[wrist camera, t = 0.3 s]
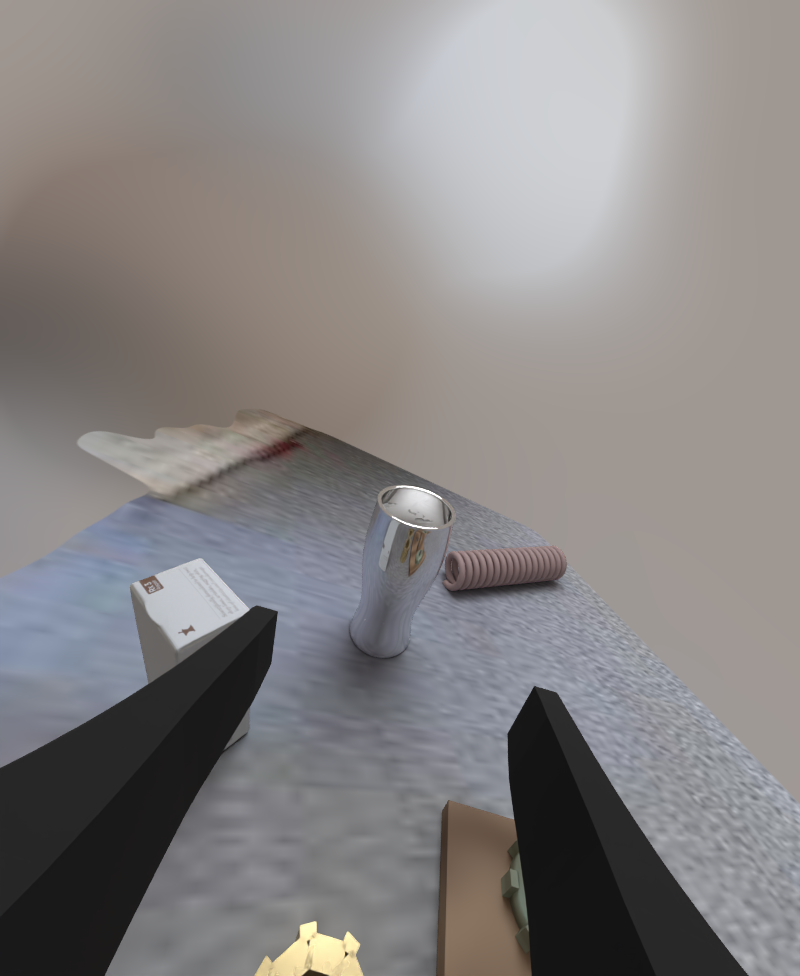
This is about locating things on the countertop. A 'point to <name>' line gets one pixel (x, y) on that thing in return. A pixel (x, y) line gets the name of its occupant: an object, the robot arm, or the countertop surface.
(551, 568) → the coil
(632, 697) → the countertop surface
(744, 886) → the countertop surface
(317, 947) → the brass gear
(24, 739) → the countertop surface
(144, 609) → the skincare box
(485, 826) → the gear board
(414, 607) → the beer glass
